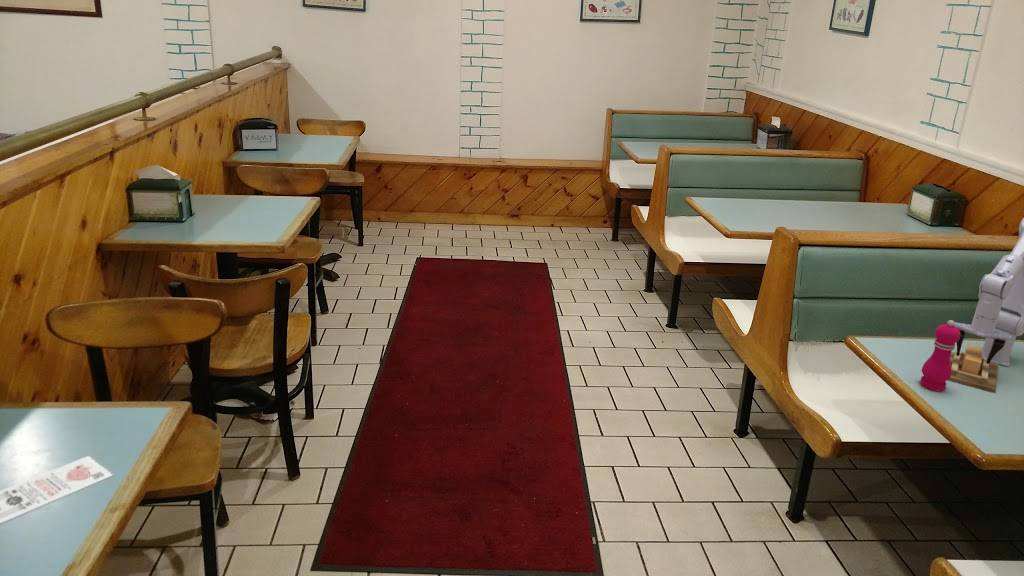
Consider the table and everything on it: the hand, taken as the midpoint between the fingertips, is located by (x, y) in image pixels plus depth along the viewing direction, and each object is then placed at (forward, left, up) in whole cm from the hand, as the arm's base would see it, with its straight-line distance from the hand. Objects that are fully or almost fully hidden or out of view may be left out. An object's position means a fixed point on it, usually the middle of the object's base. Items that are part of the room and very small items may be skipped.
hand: (972, 358), depth 219 cm
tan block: (0, 0, -3) cm, 3 cm away
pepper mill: (+17, -8, -5) cm, 19 cm away
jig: (0, 0, -4) cm, 4 cm away
